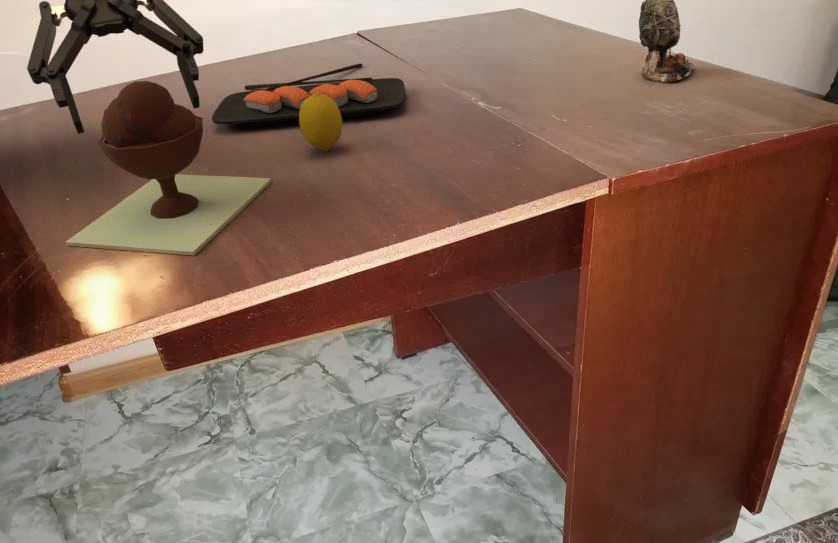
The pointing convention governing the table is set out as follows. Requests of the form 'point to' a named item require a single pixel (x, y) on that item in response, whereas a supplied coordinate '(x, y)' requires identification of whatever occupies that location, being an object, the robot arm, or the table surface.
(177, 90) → the table surface
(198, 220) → the placemat
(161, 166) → the ice cream bowl
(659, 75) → the plant with pod
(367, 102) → the sushi plate
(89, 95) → the table surface
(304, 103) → the lemon
